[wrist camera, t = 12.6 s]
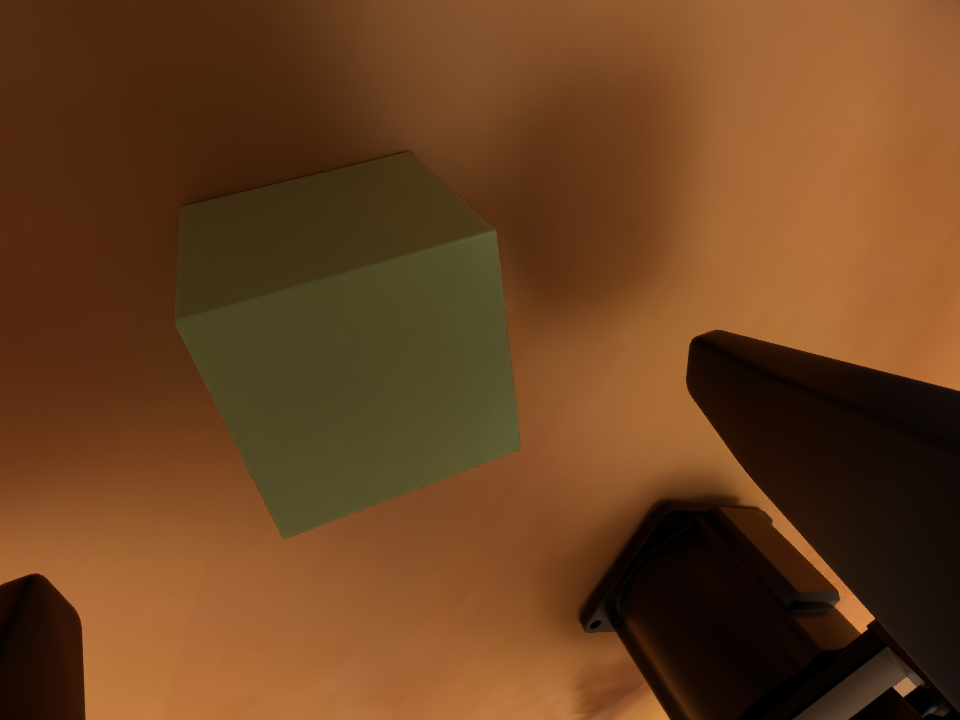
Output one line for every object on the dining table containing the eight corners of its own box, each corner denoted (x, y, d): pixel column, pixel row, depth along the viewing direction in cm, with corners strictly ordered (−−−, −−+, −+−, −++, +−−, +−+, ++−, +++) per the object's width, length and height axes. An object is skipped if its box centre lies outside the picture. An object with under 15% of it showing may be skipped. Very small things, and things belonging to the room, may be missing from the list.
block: (445, 334, 15) (522, 450, 11) (260, 393, 14) (282, 541, 10) (410, 149, 12) (497, 228, 9) (178, 206, 11) (171, 321, 8)
